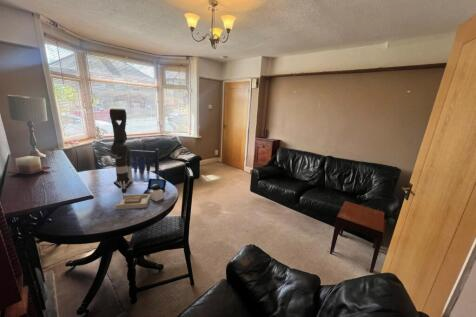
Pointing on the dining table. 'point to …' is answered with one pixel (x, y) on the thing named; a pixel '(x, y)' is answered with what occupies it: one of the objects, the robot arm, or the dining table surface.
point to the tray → (142, 204)
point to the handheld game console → (152, 182)
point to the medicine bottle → (156, 193)
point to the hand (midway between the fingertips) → (124, 192)
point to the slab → (133, 200)
